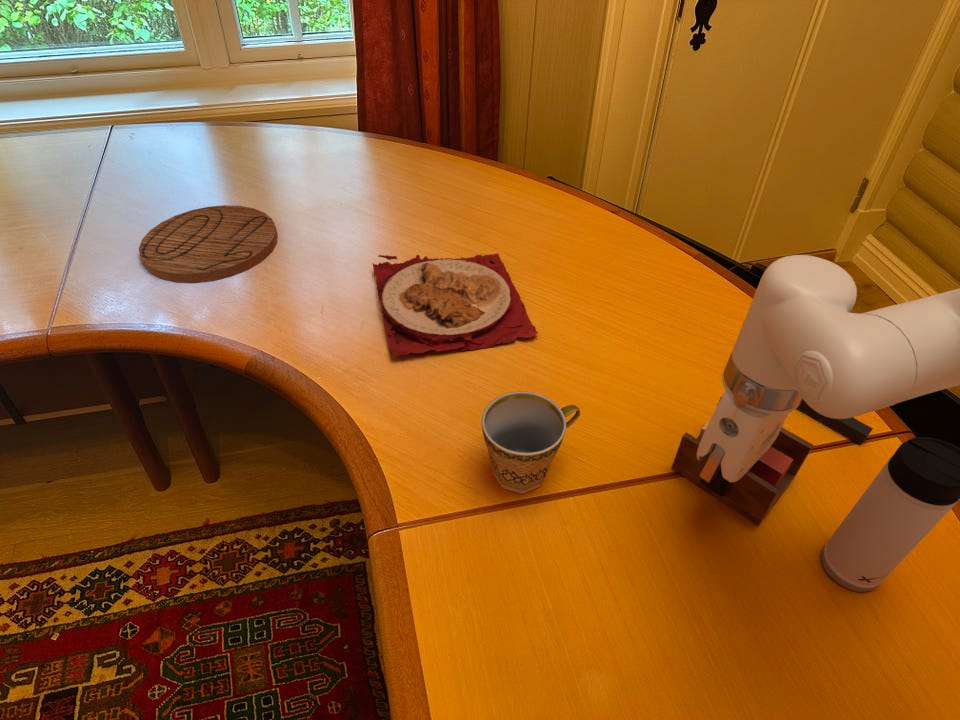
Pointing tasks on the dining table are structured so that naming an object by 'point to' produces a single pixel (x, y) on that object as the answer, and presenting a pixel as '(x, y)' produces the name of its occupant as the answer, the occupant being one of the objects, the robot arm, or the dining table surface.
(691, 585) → the dining table surface
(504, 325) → the plate with food
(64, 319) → the dining table surface
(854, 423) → the edge rail
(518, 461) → the ceramic cup
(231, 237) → the trivet
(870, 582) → the travel mug
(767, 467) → the open wooden box
